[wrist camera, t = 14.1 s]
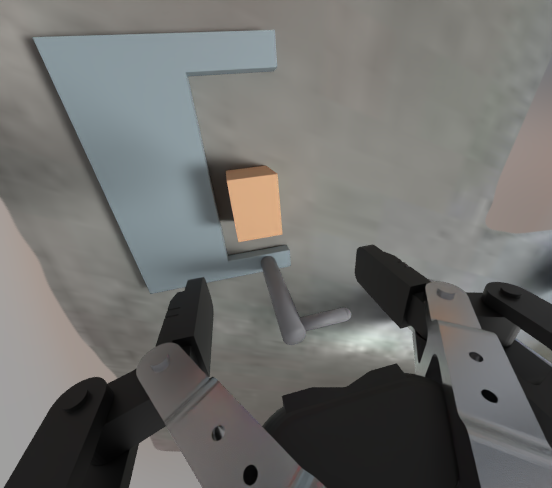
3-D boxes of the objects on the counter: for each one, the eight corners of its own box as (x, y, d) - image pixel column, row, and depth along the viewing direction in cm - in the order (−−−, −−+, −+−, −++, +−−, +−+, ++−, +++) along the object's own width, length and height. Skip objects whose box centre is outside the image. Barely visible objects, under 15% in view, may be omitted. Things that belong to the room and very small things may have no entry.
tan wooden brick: (266, 165, 25) (278, 173, 20) (271, 215, 28) (283, 234, 22) (224, 170, 24) (225, 180, 19) (234, 221, 27) (237, 242, 22)
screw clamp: (298, 35, 20) (405, -101, 8) (305, 256, 31) (355, 330, 20) (46, 44, 17) (-339, -152, 5) (153, 286, 28) (105, 395, 17)
